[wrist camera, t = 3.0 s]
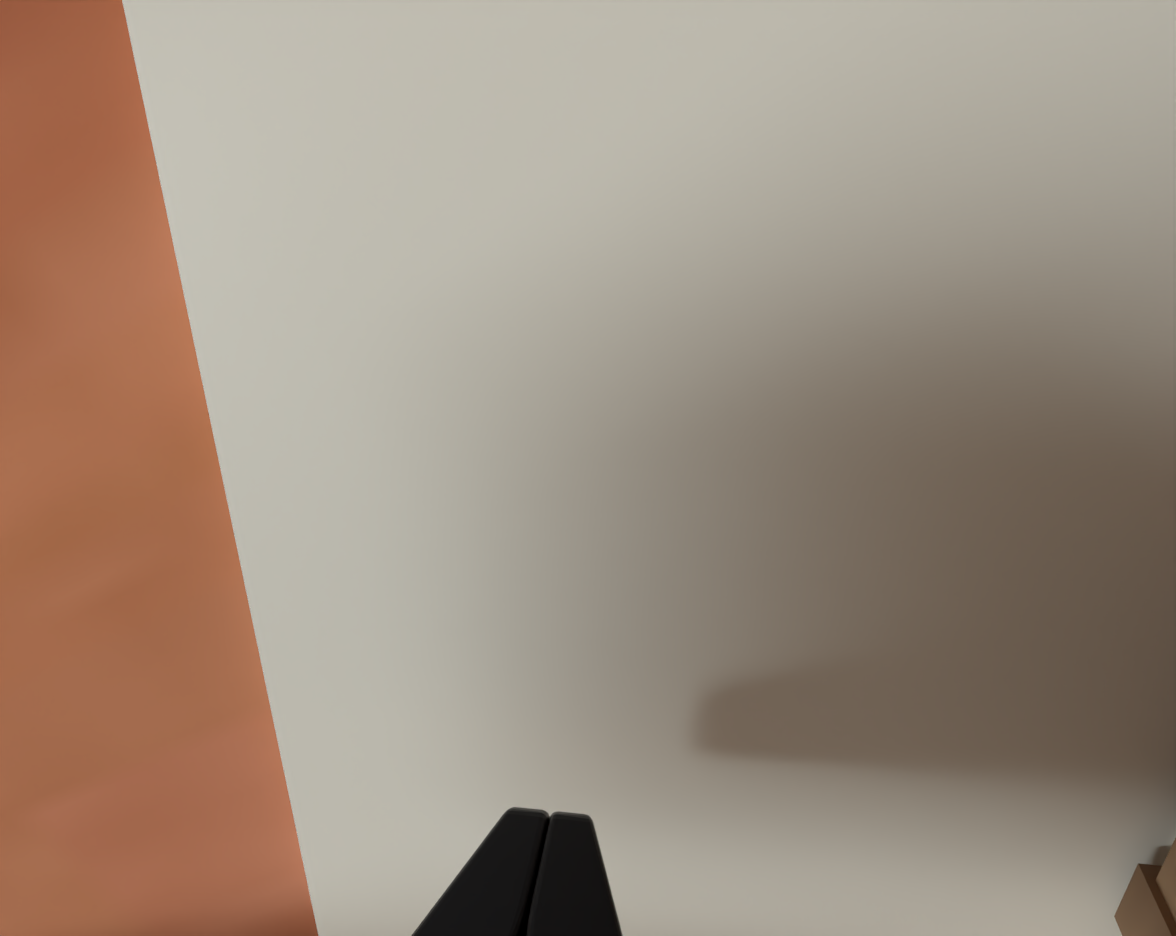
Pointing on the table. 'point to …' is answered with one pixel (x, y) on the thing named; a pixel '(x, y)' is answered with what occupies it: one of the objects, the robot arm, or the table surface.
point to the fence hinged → (1150, 900)
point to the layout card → (698, 440)
